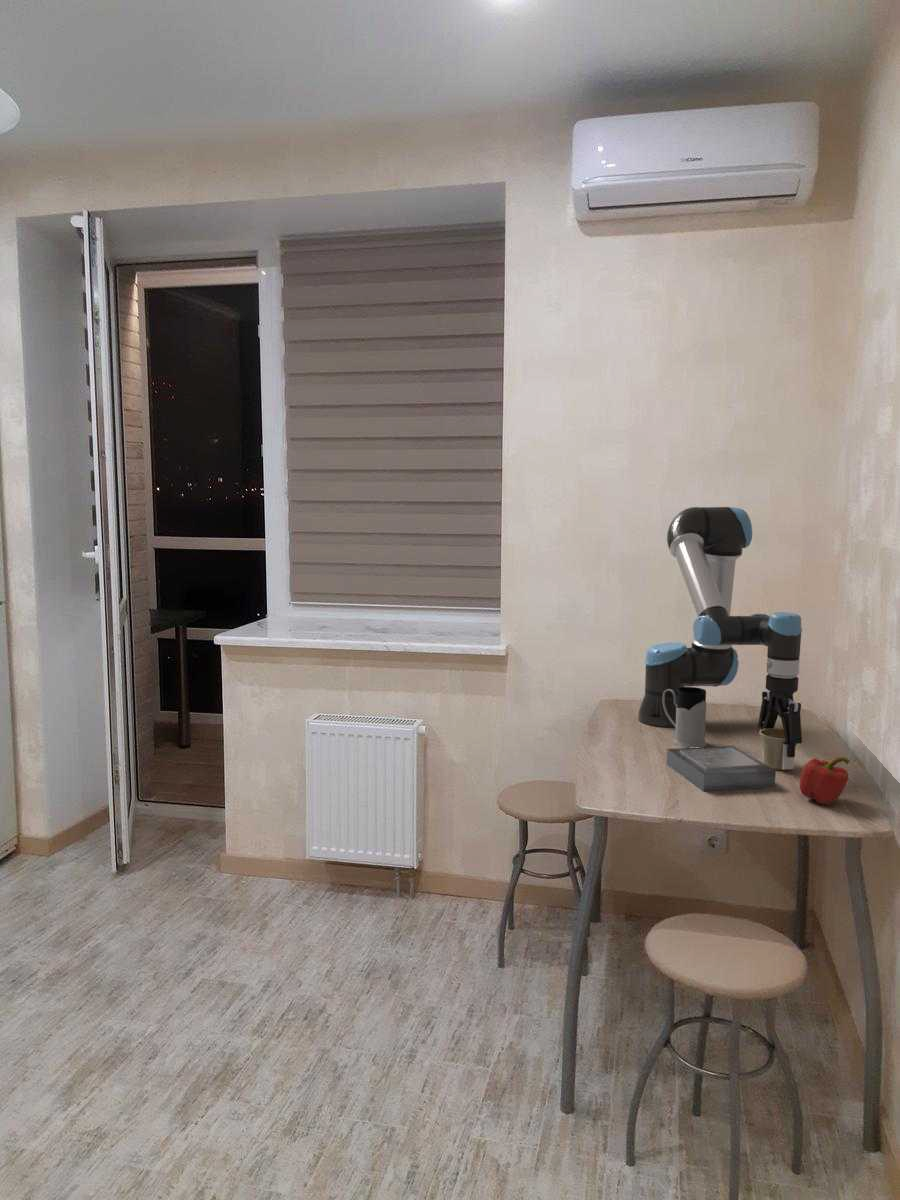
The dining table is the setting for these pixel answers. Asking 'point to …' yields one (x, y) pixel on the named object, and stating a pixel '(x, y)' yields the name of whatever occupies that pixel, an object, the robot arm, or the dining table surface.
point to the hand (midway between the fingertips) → (777, 763)
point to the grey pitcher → (689, 716)
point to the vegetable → (823, 780)
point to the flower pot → (773, 747)
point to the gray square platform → (720, 768)
